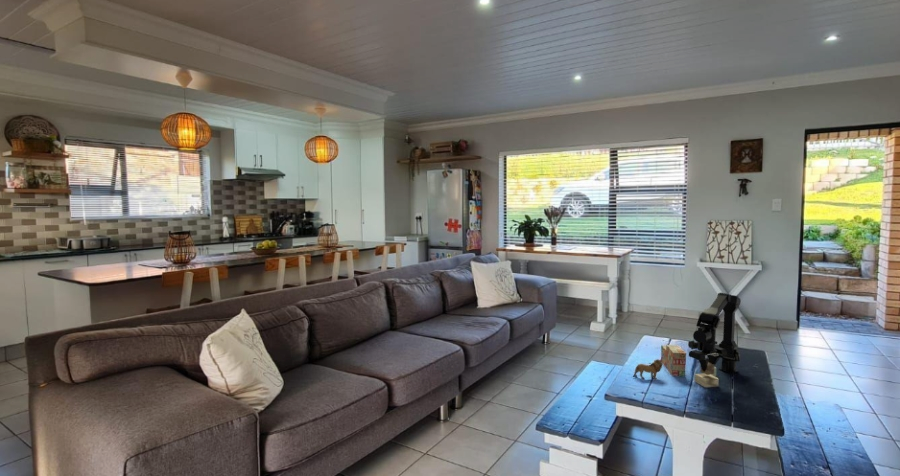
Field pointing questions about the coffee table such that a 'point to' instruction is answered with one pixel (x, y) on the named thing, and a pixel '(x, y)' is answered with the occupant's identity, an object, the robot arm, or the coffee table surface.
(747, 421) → the coffee table surface
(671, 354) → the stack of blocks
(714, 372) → the sage block
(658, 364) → the lion figurine
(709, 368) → the walnut block
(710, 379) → the oak block
